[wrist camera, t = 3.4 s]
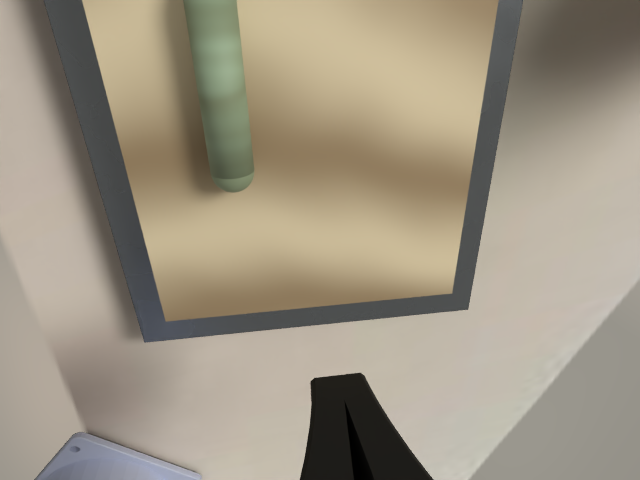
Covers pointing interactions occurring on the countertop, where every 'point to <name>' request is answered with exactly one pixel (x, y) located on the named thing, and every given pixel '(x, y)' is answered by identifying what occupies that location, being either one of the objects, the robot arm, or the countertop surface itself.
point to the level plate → (295, 144)
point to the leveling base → (136, 265)
